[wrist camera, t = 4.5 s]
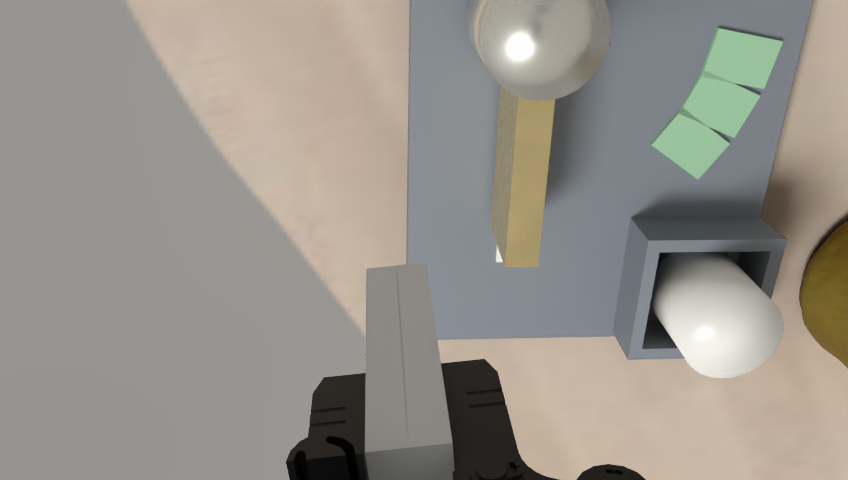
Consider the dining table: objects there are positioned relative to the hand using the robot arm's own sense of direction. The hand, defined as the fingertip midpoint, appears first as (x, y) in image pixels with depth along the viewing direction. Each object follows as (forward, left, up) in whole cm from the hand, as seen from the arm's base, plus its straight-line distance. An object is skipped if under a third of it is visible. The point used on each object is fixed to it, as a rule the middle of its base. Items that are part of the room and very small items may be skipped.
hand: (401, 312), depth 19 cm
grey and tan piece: (-2, +5, -15) cm, 16 cm away
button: (+7, +15, -14) cm, 22 cm away
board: (-1, +9, -16) cm, 19 cm away
